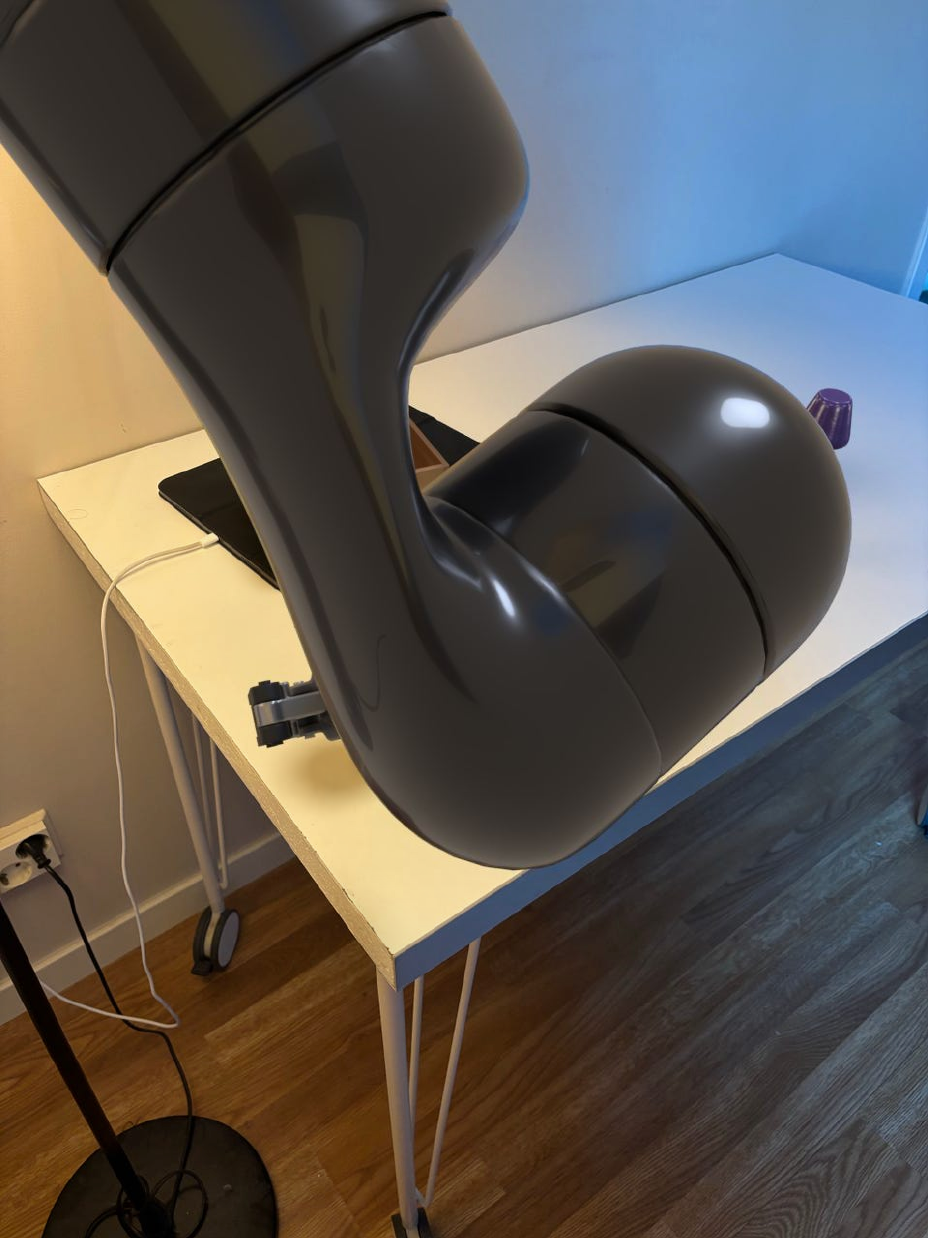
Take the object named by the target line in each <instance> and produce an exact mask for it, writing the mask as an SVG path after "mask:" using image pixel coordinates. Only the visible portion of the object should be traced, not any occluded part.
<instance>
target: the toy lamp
mask: <svg viewBox="0 0 928 1238" xmlns="http://www.w3.org/2000/svg"><path fill="white" fill-rule="evenodd" d="M805 408H806V409H807V410H808V411H809V412H810V413H811V415H812V416H813V417H814V419H815V420H816V421H817V422H818V424H819V425H820V426H821V428H822V429H823V431H824V432H825V434H826V436H827V438H828V439H829V441H830V443H831V445H832V447H833V449H834V451H837V450H840V449H842V448H845V447H846V446H847V445H848V444H849V442H850V437H851V429H852V418H853V398H852V396H851V395H850V394H849V393H847V392H846V391H844V390H841V389H838V388H833V387H832V388H831V387H825V388H822V389H820V390H818V391H817V392H816V393H815V395H814V396H813V398H812V399H811V401H810V402H809V403H808V405H807V406H806V407H805Z"/></svg>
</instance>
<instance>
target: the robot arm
mask: <svg viewBox="0 0 928 1238" xmlns="http://www.w3.org/2000/svg"><path fill="white" fill-rule="evenodd" d="M453 11H454V10H453V8H452V6H451V4H450V3H449V0H0V145H1V146H2V148H3V149H4V150H5V152H6V153H7V154H8V156H9V157H10V159H12V161H13V162H14V163H15V165H16V166H17V168H18V169H19V170H20V172H21V173H22V174H23V175H24V176H25V179H27V181H28V182H29V184H31V186H32V187H33V188H34V190H35V191H36V192H37V194H38V196H40V197H41V199H42V200H43V201H44V202H45V204H46V205H47V207H48V208H49V210H51V212H52V213H53V215H54V216H55V217H56V219H57V220H58V221H59V222H60V224H61V225H62V226H63V228H64V229H65V231H67V233H68V234H69V236H70V237H71V239H72V240H73V241H74V242H75V243H76V245H77V246H78V247H79V249H80V250H81V252H82V253H83V254H84V255H85V256H86V258H87V259H88V261H89V262H90V263H91V264H92V266H93V267H94V268H95V269H96V271H97V272H98V273H99V275H100V276H102V277H104V278H107V282H108V284H109V287H110V289H111V290H112V292H113V293H114V295H115V296H116V297H117V298H118V300H119V301H120V302H121V304H122V306H123V307H124V308H126V310H127V312H128V313H129V314H130V316H131V317H132V318H133V320H134V321H135V323H136V324H137V325H138V326H139V328H140V329H141V332H143V334H144V335H145V337H146V338H147V339H148V341H149V342H150V344H151V345H152V347H153V348H154V350H155V351H156V352H157V354H158V355H159V357H160V359H161V360H162V362H163V364H164V365H165V366H166V368H167V370H168V371H169V373H170V374H171V376H172V378H173V379H174V381H175V383H177V385H178V387H179V389H180V391H181V392H182V394H183V395H184V397H185V399H186V401H187V403H188V404H189V406H190V407H191V409H192V411H193V413H194V414H195V416H196V418H197V419H198V421H199V423H200V424H201V426H202V428H203V430H204V431H205V433H206V435H207V437H208V439H209V440H210V442H211V444H212V446H213V448H214V450H215V452H216V453H217V456H218V457H219V459H220V461H221V463H222V465H223V467H224V469H225V471H226V473H227V475H228V477H229V479H230V481H231V483H232V485H233V487H234V489H235V491H236V493H237V495H238V498H239V500H240V501H241V504H242V506H243V507H244V510H245V511H246V514H247V515H248V518H249V520H250V522H251V525H252V526H253V528H254V531H255V533H256V535H257V537H258V540H259V543H260V544H261V546H262V549H263V552H264V554H265V556H266V558H267V561H268V564H269V566H270V568H271V570H272V573H273V575H274V577H275V580H276V583H277V585H278V588H279V590H280V594H281V596H282V598H283V601H284V604H285V606H286V609H287V612H288V615H289V616H290V620H291V622H292V625H293V627H294V630H295V633H296V635H297V638H298V641H299V643H300V646H301V649H302V651H303V654H304V657H305V659H306V662H307V664H308V666H309V669H310V672H311V677H310V679H309V680H307V681H304V680H300V681H295V682H292V685H291V686H290V682H289V681H281V682H280V681H272V682H271V679H265V680H262V681H259V682H257V684H258V685H254V686H251V687H250V688H249V690H248V693H247V699H248V704H249V706H250V709H251V713H252V717H253V722H254V727H255V732H256V736H255V738H256V743H257V747H264V746H266V749H269V748H273V747H277V746H281V745H284V744H285V743H284V742H285V741H288V740H291V739H295V738H296V739H298V738H303V737H304V740H309V739H312V738H316V734H320V733H322V734H323V736H324V737H325V738H326V739H327V740H328V741H329V742H334V741H338V740H341V742H342V744H343V746H344V748H345V750H346V752H347V755H348V757H349V758H350V761H352V763H353V766H355V768H356V770H357V771H358V773H359V775H360V776H361V778H362V779H363V781H364V783H365V784H366V785H367V787H368V788H369V789H370V790H371V792H372V793H373V794H374V796H375V797H376V799H377V800H378V801H379V802H380V803H381V804H382V805H383V806H384V808H385V809H386V810H387V811H388V812H389V813H390V814H391V815H392V816H393V818H395V819H396V820H397V821H398V822H399V823H401V825H403V827H405V828H406V829H408V830H409V831H410V832H412V833H413V834H414V835H415V836H416V837H417V838H418V839H420V840H422V841H424V842H425V843H427V844H428V845H429V846H432V847H433V848H435V849H437V850H439V851H441V852H442V853H446V854H447V855H449V856H451V857H453V858H456V859H459V860H461V861H465V862H468V863H471V864H474V865H477V866H480V867H485V868H490V869H500V870H505V871H525V870H535V869H536V870H537V869H544V868H547V867H551V866H554V865H556V864H558V863H559V864H560V863H561V862H564V861H565V860H568V859H570V858H572V857H573V856H574V855H576V854H577V853H579V852H580V851H582V850H583V849H585V848H587V847H588V846H589V845H591V844H592V843H594V842H595V841H596V840H597V839H599V838H600V837H601V836H602V835H604V833H605V832H607V831H608V830H609V829H610V828H611V827H612V826H614V824H616V823H617V822H618V820H620V819H621V818H622V817H623V816H625V814H626V813H628V811H630V810H631V808H633V807H634V806H635V805H636V804H637V803H638V802H639V801H640V800H641V799H642V798H643V797H644V796H645V795H646V794H648V792H649V791H650V790H651V789H652V788H653V787H654V786H655V785H657V784H658V782H659V781H660V779H661V778H663V777H664V776H665V775H666V774H667V773H668V772H670V770H672V769H673V768H674V767H675V766H676V765H677V764H678V763H679V762H680V761H681V760H683V758H685V756H687V754H689V753H690V752H691V751H692V750H693V749H694V748H695V747H696V746H697V745H698V744H699V743H700V742H702V740H703V739H705V738H706V736H708V735H709V734H710V733H711V732H712V731H713V730H714V729H715V728H716V727H717V726H718V725H719V724H721V723H722V722H723V720H725V719H726V718H727V717H728V716H729V715H730V714H731V713H732V712H733V711H734V710H735V709H737V707H739V705H741V704H742V703H743V702H744V701H745V700H746V699H747V698H748V697H750V695H751V694H752V693H753V692H754V691H755V689H756V688H757V687H759V686H760V685H762V684H763V683H764V682H765V681H766V680H767V679H769V677H771V676H772V674H773V673H774V672H776V671H777V670H778V669H779V668H780V667H781V666H782V665H783V664H784V663H785V662H787V660H788V659H789V658H791V657H792V656H793V654H795V652H797V651H798V649H800V648H801V647H802V645H803V644H804V643H805V642H806V641H807V640H808V639H809V638H810V636H811V635H812V634H813V632H815V630H816V629H817V628H818V626H819V625H820V623H822V621H823V619H824V618H825V617H826V615H827V613H828V612H829V610H830V608H831V607H832V605H833V603H834V601H835V599H836V597H837V595H838V593H839V591H840V589H841V587H842V583H843V580H844V578H845V574H846V570H847V566H848V561H849V556H850V551H851V544H852V543H851V542H852V534H853V533H852V532H853V531H852V530H853V529H852V528H853V526H852V525H853V518H852V509H851V499H850V496H849V491H848V487H847V482H846V479H845V475H844V473H843V469H842V466H841V463H840V460H839V458H838V456H837V454H836V450H834V449H833V447H832V445H831V443H830V441H829V439H828V438H827V436H826V434H825V432H824V431H823V429H822V428H821V426H820V425H819V424H818V422H817V421H816V420H815V419H814V417H813V416H812V415H811V413H810V412H809V411H808V410H807V409H806V408H807V407H805V405H804V404H803V403H802V402H801V401H800V400H799V399H798V397H797V396H795V395H794V394H793V393H792V392H791V391H790V390H789V389H787V388H786V387H785V386H784V385H783V384H782V383H780V382H779V381H777V380H776V379H774V378H773V377H771V376H770V375H769V374H767V373H766V372H763V371H762V370H760V369H759V368H756V367H755V366H753V365H751V364H749V363H747V362H745V361H742V360H740V359H739V358H735V357H733V356H730V355H728V354H725V353H721V352H718V351H714V350H710V349H706V348H700V347H695V346H687V345H681V344H662V343H661V344H647V345H640V346H633V347H628V348H624V349H622V350H617V351H614V352H610V353H608V354H604V355H602V356H600V357H598V358H597V357H596V359H594V360H591V361H589V362H588V363H586V364H584V365H582V366H580V367H578V368H577V369H575V370H574V371H573V372H571V373H569V374H568V375H566V376H565V377H564V378H562V379H561V380H559V381H558V382H556V383H555V384H553V386H551V387H550V388H549V389H547V390H546V391H545V392H543V393H542V394H541V395H539V396H538V397H537V398H536V399H534V400H533V401H532V402H531V403H529V404H528V405H527V406H525V407H524V408H523V409H522V410H521V411H520V412H519V413H518V414H517V415H516V416H514V417H512V418H510V419H509V420H508V421H507V422H506V423H504V424H503V425H502V426H500V427H499V428H498V429H497V430H496V431H494V432H493V433H492V434H490V435H489V436H488V437H486V438H485V439H484V440H483V441H482V442H480V443H479V444H477V445H476V446H475V447H474V448H472V450H470V451H469V452H467V453H466V454H465V455H464V456H462V457H461V458H460V459H459V460H457V461H456V462H455V463H454V464H452V465H450V466H449V469H447V470H446V471H445V472H444V473H442V474H441V475H440V476H439V477H437V478H436V479H435V480H433V481H432V482H431V483H430V484H428V485H427V486H426V487H425V488H423V489H422V490H420V487H419V484H418V480H417V475H416V470H415V465H414V460H413V455H412V448H411V441H410V429H409V418H410V417H409V415H410V413H409V403H410V402H409V394H410V382H411V375H412V372H413V369H414V367H415V364H416V361H417V359H418V358H419V357H420V354H421V353H422V351H423V349H424V347H425V346H426V344H427V342H428V341H429V339H430V337H431V335H432V333H433V332H434V330H436V328H437V327H438V326H439V324H440V323H441V322H442V321H443V319H444V318H445V317H446V316H447V314H448V313H449V312H450V311H451V309H453V307H454V306H455V304H457V303H458V301H460V299H461V298H462V297H463V295H465V294H466V292H467V291H468V290H469V288H470V287H471V286H472V285H473V284H474V283H475V282H476V281H477V279H478V278H480V276H481V275H482V274H483V273H484V271H485V270H486V269H487V268H488V267H489V265H491V263H492V262H493V261H494V259H495V258H496V257H498V255H499V253H500V252H501V251H502V249H503V248H504V246H505V245H506V243H507V242H508V241H509V239H510V238H511V237H512V235H513V233H514V232H516V231H515V230H516V229H517V227H518V225H519V224H520V221H521V219H522V217H523V215H524V212H525V209H526V206H527V204H528V201H529V196H530V195H529V194H530V186H531V173H530V164H529V159H528V153H527V150H526V147H525V144H524V141H523V138H522V135H521V133H520V131H519V129H518V127H517V124H516V123H515V120H514V118H513V116H512V114H511V111H510V109H509V107H508V104H507V103H506V101H505V99H504V97H503V96H502V93H501V92H500V90H499V88H498V86H497V84H496V83H495V81H494V79H493V77H492V75H491V73H490V72H489V69H488V68H487V66H486V64H485V62H484V61H483V59H482V57H481V56H480V54H479V52H478V51H477V49H476V47H475V45H474V43H473V41H472V40H471V38H470V37H469V34H468V33H467V31H466V30H465V28H464V25H463V24H462V23H461V21H460V20H458V19H456V18H454V17H453Z"/></svg>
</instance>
